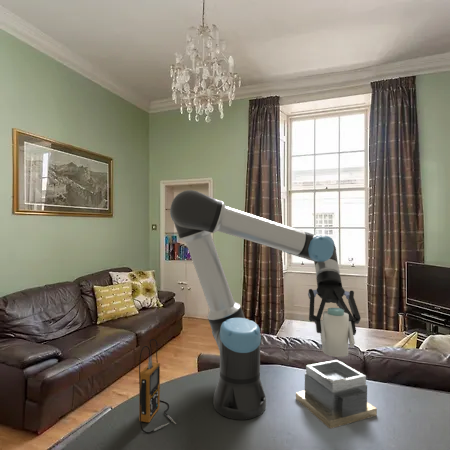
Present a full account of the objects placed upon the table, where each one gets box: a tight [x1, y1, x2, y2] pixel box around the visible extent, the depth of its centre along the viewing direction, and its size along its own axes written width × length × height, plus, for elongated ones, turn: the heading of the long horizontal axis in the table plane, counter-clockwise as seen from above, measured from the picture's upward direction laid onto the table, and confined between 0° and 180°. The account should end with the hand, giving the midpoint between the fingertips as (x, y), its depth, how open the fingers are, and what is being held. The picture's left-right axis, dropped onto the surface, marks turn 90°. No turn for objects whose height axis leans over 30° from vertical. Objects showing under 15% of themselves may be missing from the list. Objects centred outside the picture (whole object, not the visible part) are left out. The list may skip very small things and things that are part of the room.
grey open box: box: [295, 359, 378, 430], centre depth 92 cm, size 15×16×10 cm
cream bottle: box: [322, 307, 349, 358], centre depth 92 cm, size 7×7×12 cm
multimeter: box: [138, 338, 177, 434], centre depth 87 cm, size 15×10×20 cm
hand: (338, 344), depth 89 cm, fingers closed on cream bottle, 7 cm apart
